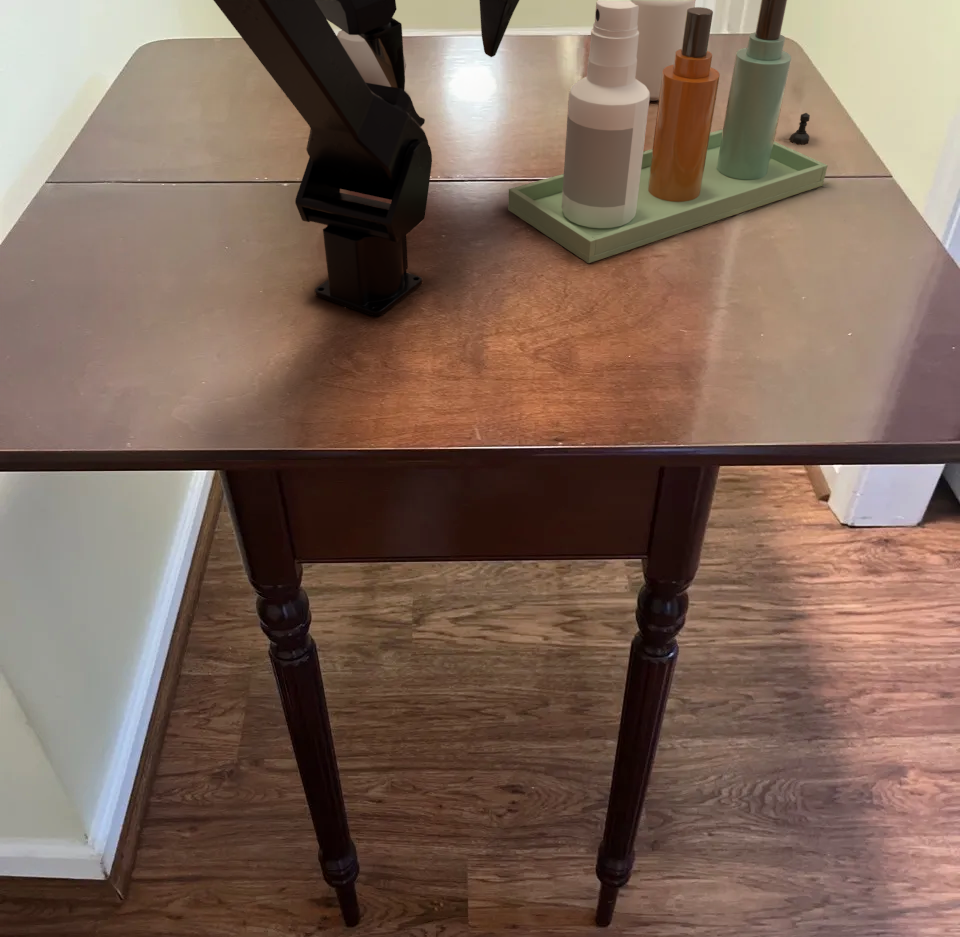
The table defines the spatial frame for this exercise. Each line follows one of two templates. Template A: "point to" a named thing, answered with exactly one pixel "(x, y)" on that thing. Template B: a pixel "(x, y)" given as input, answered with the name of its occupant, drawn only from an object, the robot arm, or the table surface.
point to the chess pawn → (801, 131)
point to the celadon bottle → (755, 98)
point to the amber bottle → (685, 114)
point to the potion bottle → (363, 58)
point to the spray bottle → (606, 124)
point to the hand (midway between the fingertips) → (445, 73)
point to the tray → (666, 203)
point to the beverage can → (658, 39)
